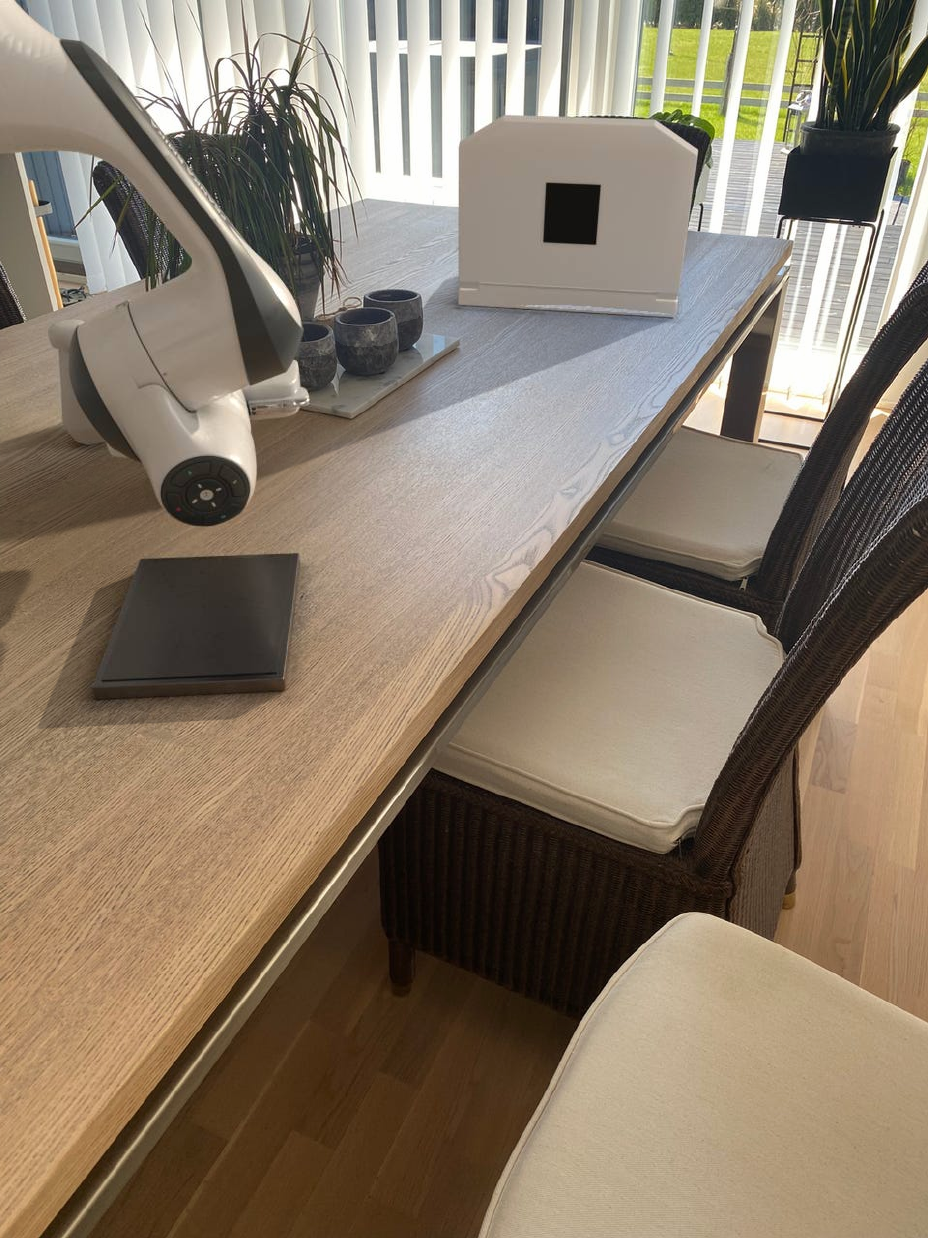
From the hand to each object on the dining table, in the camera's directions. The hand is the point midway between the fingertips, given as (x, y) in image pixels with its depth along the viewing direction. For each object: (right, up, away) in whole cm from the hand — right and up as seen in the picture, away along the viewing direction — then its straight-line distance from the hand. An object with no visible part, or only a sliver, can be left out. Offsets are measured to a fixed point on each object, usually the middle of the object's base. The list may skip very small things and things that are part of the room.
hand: (195, 363), depth 99 cm
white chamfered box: (+46, +27, +56) cm, 78 cm away
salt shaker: (-14, -6, +9) cm, 18 cm away
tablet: (+7, -27, -21) cm, 35 cm away
